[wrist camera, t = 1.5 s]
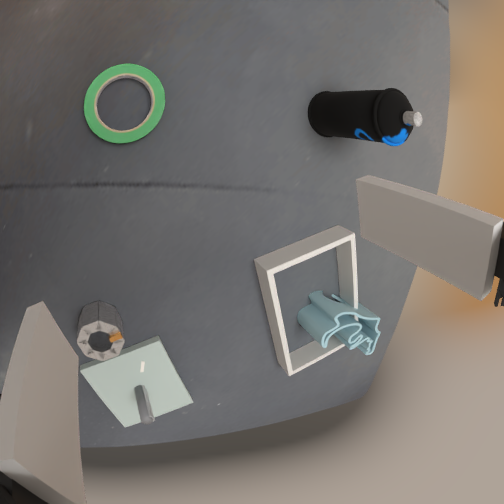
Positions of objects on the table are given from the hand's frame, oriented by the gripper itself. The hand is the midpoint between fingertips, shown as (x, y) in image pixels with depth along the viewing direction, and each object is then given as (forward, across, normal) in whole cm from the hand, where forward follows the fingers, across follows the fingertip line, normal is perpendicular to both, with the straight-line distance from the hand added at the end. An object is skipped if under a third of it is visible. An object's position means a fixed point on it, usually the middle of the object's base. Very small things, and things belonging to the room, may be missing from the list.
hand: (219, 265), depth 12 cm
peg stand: (+36, -15, -37) cm, 54 cm away
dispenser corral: (+36, +22, -34) cm, 54 cm away
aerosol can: (+37, +32, 0) cm, 49 cm away
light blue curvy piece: (+37, +27, -41) cm, 62 cm away
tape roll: (+37, 0, +9) cm, 38 cm away
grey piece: (+36, -15, -21) cm, 45 cm away
